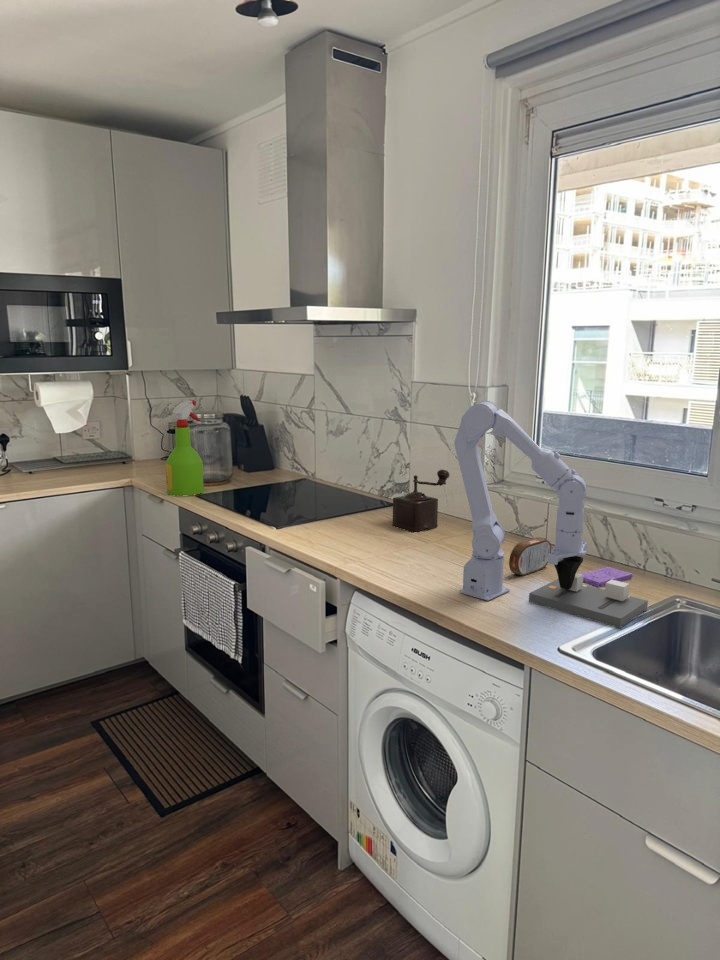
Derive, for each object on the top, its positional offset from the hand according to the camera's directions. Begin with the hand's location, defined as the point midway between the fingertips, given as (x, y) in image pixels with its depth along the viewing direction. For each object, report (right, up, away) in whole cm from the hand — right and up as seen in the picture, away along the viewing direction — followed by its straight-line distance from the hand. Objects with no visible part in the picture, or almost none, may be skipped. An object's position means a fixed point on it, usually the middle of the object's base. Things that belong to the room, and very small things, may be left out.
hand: (565, 587), depth 156 cm
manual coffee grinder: (-27, +9, +64) cm, 70 cm away
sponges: (+14, -1, +15) cm, 21 cm away
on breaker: (+10, -1, -4) cm, 11 cm away
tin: (-3, +1, +20) cm, 21 cm away
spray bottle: (-112, +19, +112) cm, 160 cm away
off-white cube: (+2, 0, +2) cm, 3 cm away
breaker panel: (+4, -4, -2) cm, 6 cm away
